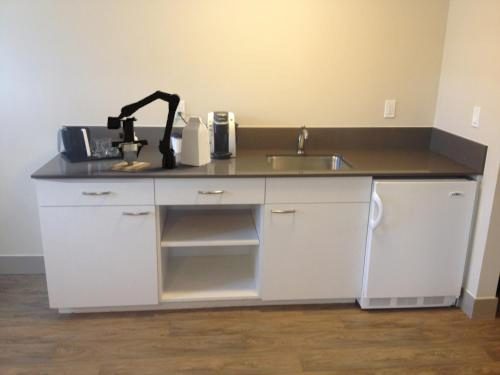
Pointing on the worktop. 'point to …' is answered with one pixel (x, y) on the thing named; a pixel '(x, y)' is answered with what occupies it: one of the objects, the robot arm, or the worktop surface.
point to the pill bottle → (131, 145)
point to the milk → (195, 143)
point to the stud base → (130, 166)
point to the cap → (130, 155)
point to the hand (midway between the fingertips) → (130, 158)
